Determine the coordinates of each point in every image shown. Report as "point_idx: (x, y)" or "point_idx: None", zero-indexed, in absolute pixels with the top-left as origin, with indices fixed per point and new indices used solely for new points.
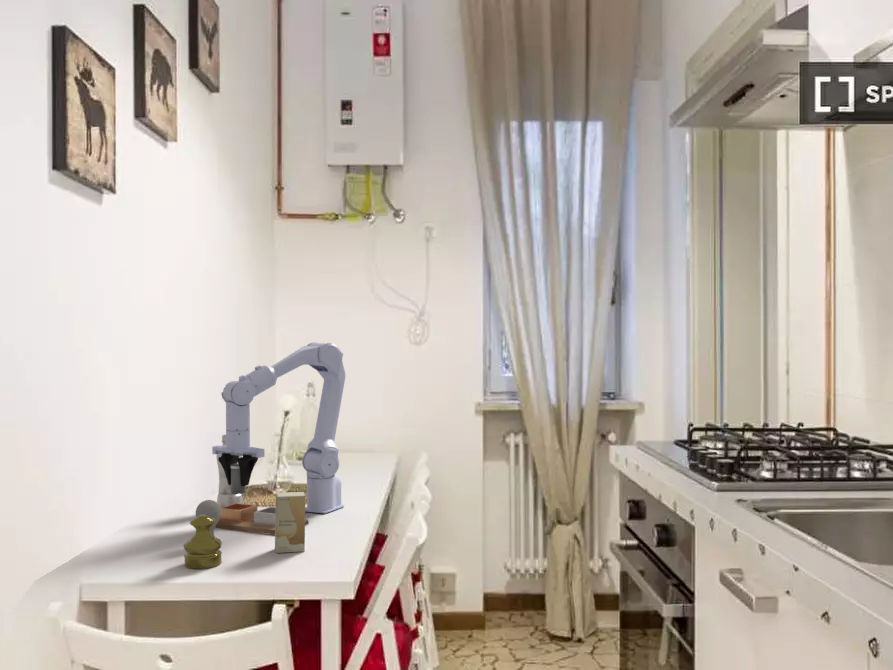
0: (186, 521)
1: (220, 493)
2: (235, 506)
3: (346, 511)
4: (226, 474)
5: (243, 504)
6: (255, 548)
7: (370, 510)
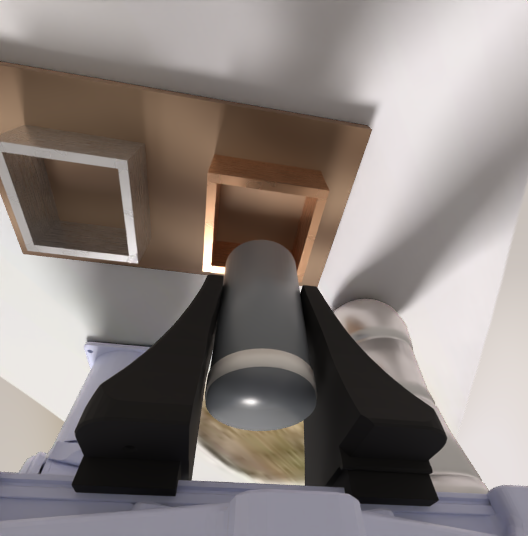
0: (464, 179)
1: (399, 341)
2: (296, 264)
3: (64, 368)
4: (333, 324)
5: None
6: None
7: (22, 383)
